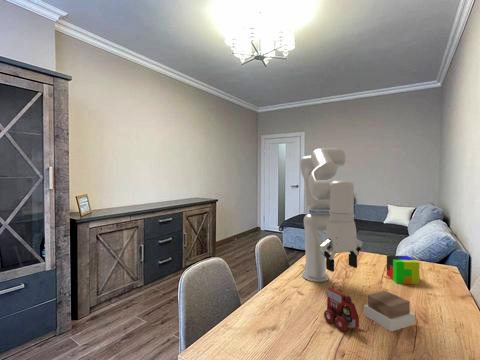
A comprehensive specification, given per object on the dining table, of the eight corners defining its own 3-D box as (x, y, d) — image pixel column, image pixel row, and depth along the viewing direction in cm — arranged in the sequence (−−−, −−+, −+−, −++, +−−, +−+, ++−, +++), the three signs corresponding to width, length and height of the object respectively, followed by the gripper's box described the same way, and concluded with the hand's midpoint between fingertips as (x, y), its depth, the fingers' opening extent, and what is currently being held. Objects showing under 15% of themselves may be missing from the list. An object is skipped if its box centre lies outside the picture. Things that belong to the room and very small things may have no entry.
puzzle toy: (407, 275, 132) (407, 255, 131) (419, 284, 122) (419, 262, 122) (386, 275, 133) (386, 255, 132) (396, 283, 123) (396, 261, 123)
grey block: (363, 316, 95) (363, 305, 95) (385, 310, 99) (386, 299, 99) (391, 333, 85) (391, 320, 84) (414, 325, 89) (414, 314, 89)
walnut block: (367, 306, 94) (367, 295, 94) (385, 301, 97) (385, 290, 97) (391, 319, 85) (391, 306, 85) (409, 313, 89) (409, 301, 89)
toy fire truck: (349, 336, 82) (349, 303, 82) (320, 318, 93) (320, 288, 93) (364, 330, 85) (364, 298, 85) (334, 313, 96) (334, 284, 96)
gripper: (352, 214, 95) (352, 262, 95) (313, 217, 89) (313, 268, 89) (370, 217, 88) (370, 268, 88) (328, 221, 82) (328, 276, 82)
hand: (341, 268), depth 89 cm, fingers open, 9 cm apart
